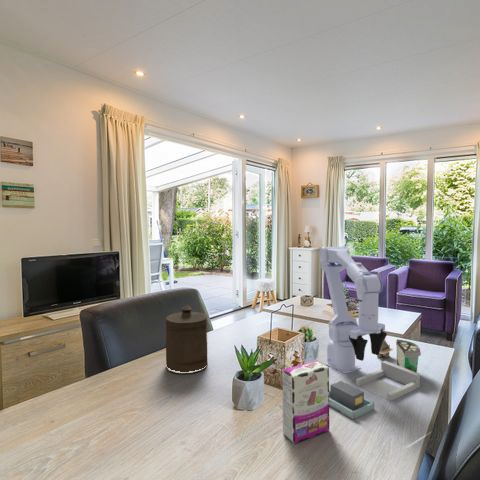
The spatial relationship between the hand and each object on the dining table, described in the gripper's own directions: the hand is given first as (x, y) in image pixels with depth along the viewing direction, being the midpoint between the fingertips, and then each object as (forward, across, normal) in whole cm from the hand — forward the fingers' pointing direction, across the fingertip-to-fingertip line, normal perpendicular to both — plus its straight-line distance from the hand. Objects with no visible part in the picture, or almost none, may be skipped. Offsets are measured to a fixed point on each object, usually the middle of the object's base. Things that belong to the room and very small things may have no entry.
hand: (367, 356), depth 107 cm
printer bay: (+10, +6, -3) cm, 12 cm away
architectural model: (+10, +26, +12) cm, 30 cm away
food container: (+10, +20, -2) cm, 22 cm away
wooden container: (+10, -40, +47) cm, 63 cm away
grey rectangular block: (+10, -14, -3) cm, 17 cm away
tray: (+10, -14, -3) cm, 17 cm away
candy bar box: (+10, -32, -6) cm, 34 cm away
